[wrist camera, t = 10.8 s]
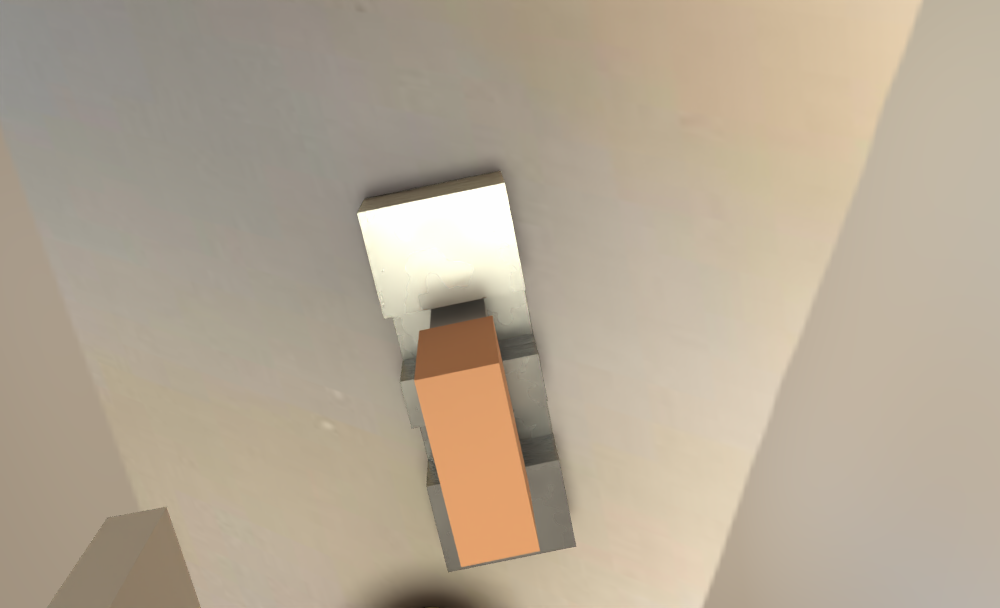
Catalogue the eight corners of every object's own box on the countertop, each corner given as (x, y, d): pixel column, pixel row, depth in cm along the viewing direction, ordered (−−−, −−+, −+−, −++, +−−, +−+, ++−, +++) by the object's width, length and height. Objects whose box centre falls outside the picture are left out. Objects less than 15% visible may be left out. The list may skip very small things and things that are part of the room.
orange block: (422, 301, 45) (414, 380, 35) (488, 287, 45) (499, 363, 35) (459, 453, 48) (461, 567, 38) (521, 440, 48) (540, 551, 38)
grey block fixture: (364, 198, 44) (357, 213, 40) (500, 170, 44) (504, 182, 40) (448, 535, 50) (448, 572, 46) (567, 511, 50) (576, 546, 46)
